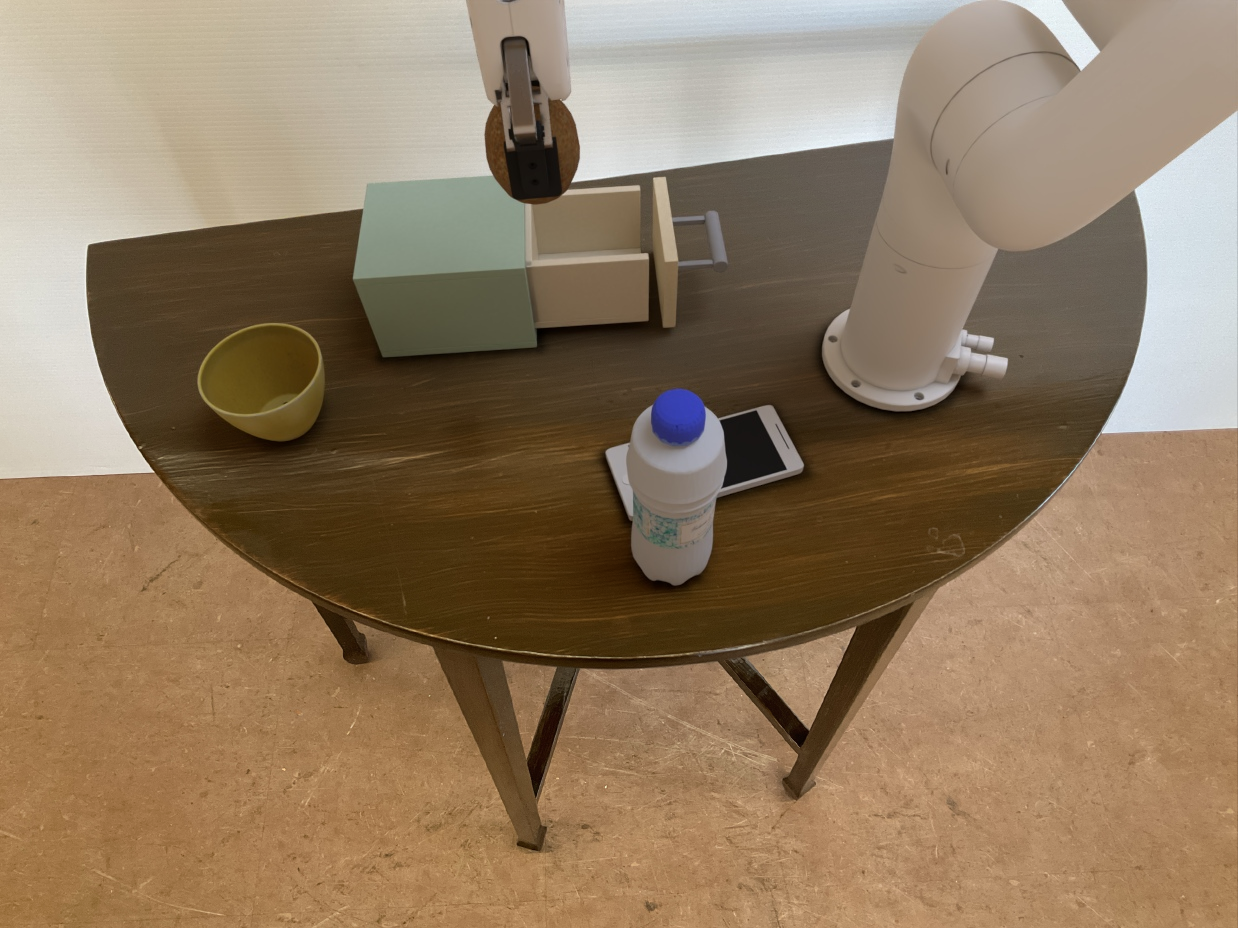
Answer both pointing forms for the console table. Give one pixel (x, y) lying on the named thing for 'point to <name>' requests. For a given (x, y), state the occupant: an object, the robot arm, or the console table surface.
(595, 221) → the drawer
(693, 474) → the bottle
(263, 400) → the flower pot
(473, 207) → the cabinet
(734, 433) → the smartphone
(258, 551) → the console table surface
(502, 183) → the fruit
